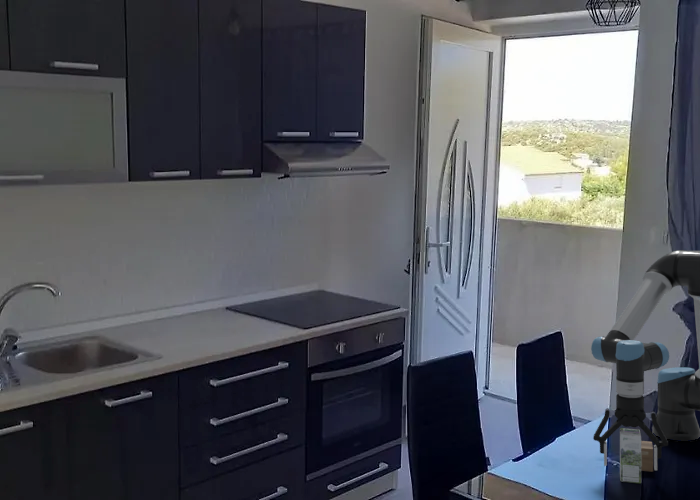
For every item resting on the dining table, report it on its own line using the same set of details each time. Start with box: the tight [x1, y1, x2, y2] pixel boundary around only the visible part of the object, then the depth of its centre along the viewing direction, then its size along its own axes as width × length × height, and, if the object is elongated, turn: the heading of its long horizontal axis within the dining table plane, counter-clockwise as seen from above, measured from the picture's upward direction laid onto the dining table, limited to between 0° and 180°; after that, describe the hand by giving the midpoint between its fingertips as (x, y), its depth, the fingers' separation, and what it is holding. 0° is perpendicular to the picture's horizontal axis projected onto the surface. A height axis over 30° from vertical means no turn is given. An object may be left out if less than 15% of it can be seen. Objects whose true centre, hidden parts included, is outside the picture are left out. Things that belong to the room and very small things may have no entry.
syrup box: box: [619, 427, 642, 484], centre depth 214 cm, size 6×6×14 cm
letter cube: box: [641, 440, 654, 473], centre depth 224 cm, size 7×7×7 cm
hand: (630, 466), depth 214 cm, fingers open, 13 cm apart
